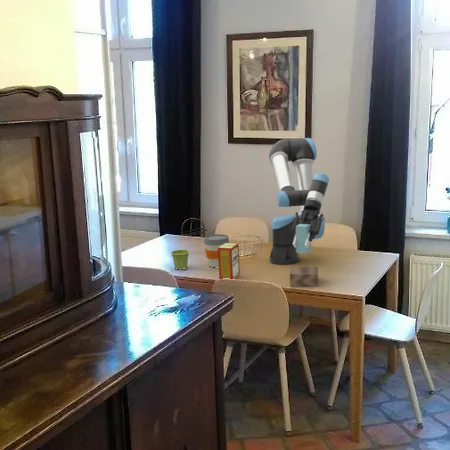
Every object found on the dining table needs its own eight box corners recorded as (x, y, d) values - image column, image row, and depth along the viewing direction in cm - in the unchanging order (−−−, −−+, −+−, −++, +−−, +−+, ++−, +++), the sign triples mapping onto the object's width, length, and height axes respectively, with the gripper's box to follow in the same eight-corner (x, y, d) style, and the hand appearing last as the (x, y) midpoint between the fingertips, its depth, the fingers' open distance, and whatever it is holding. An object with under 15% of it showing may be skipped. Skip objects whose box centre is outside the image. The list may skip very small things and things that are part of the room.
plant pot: (193, 266, 324) (192, 249, 323) (186, 271, 316) (185, 254, 314) (176, 265, 328) (175, 249, 326) (168, 270, 319) (167, 253, 317)
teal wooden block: (296, 252, 285) (295, 226, 282) (300, 249, 289) (300, 223, 286) (306, 253, 282) (306, 226, 280) (311, 250, 286) (310, 224, 284)
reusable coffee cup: (201, 268, 320) (200, 239, 317) (210, 261, 331) (209, 233, 328) (225, 269, 316) (223, 240, 313) (233, 263, 327) (232, 234, 324)
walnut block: (290, 287, 284) (289, 274, 283) (291, 279, 295) (291, 267, 294) (317, 287, 282) (317, 274, 281) (317, 279, 293) (317, 267, 292)
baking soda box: (232, 280, 297) (230, 247, 293) (219, 279, 299) (217, 246, 296) (239, 275, 305) (238, 242, 302) (227, 274, 308) (225, 242, 304)
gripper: (334, 208, 290) (321, 252, 280) (297, 207, 299) (284, 249, 289) (330, 199, 285) (317, 243, 274) (293, 197, 294) (278, 240, 283)
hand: (300, 246), depth 282 cm, fingers closed on teal wooden block, 5 cm apart
